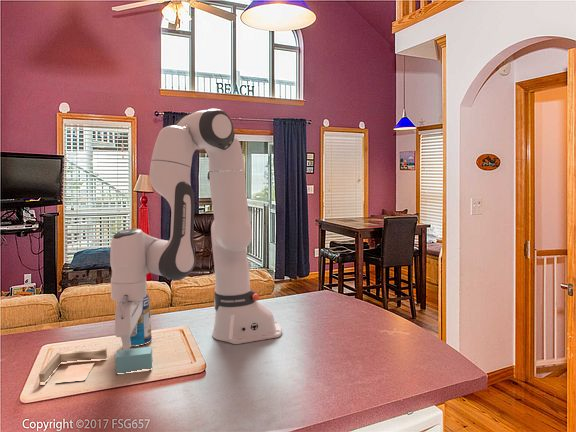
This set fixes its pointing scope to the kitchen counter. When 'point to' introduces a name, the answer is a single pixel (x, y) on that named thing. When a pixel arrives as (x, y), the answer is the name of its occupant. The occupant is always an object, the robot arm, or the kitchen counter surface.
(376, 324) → the kitchen counter surface
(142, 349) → the teal block
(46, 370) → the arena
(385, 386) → the kitchen counter surface
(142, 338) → the beverage bottle
